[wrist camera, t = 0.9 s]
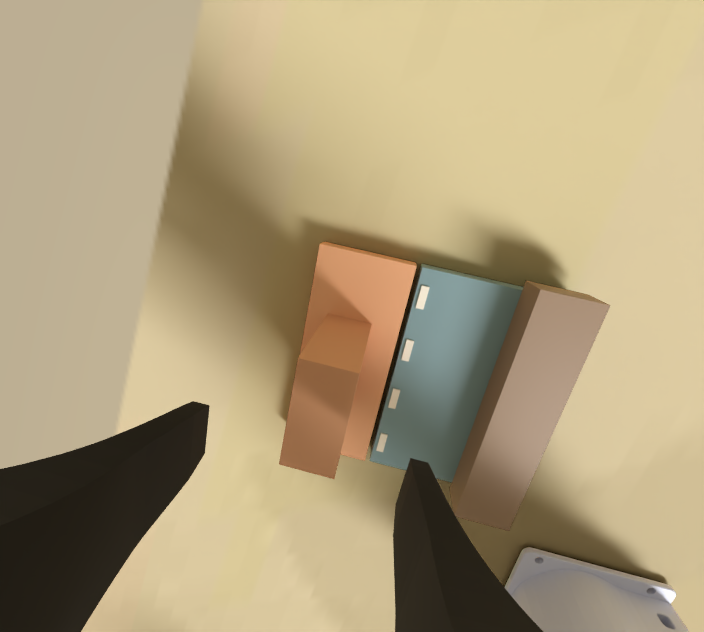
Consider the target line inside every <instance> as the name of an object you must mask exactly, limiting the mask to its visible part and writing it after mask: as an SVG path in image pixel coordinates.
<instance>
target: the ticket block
mask: <svg viewBox="0 0 704 632" xmlns="http://www.w3.org/2000/svg"><path fill="white" fill-rule="evenodd" d="M609 308H610V305H608V304H606V303H604V302H602V301H600V300H598V299H596V298H594V297H592V296H590V295H587V294H583V293H579V292H574V291H570V290H566V289H561V288H557V287H552V286H548V285H544V284H539V283H535V282H531V281H526V282H525V285H524V287H521V286H517V285H513V284H508V283H504V282H500V281H495V280H491V279H487V278H482V277H478V276H473V275H469V274H465V273H460V272H456V271H452V270H447V269H443V268H439V267H434V266H430V265H426V264H421V267H420V270H419V274H418V278H417V281H416V285H415V289H414V292H413V296H412V300H411V303H410V307H409V311H408V315H407V318H406V322H405V326H404V329H403V333H402V337H401V340H400V344H399V348H398V351H397V355H396V359H395V363H394V366H393V370H392V374H391V377H390V381H389V385H388V388H387V392H386V396H385V400H384V403H383V407H382V411H381V414H380V418H379V422H378V425H377V429H376V433H375V436H374V440H373V444H372V448H371V455H370V461H372V462H376V463H379V464H383V465H387V466H391V467H394V468H398V469H402V470H407V467H408V464H409V461H410V458H413V459H416V460H420V461H424V462H428V463H429V465H430V467H431V469H432V471H433V473H434V475H435V477H436V479H440V480H444V481H448V482H451V483H452V484H451V486H450V489H449V490H450V496H451V501H452V507H453V513H454V514H455V516H456V517H459V518H462V519H466V520H470V521H474V522H477V523H481V524H485V525H488V526H492V527H496V528H500V529H503V530H507V531H509V529H510V527H511V525H512V523H513V520H514V518H515V516H516V514H517V512H518V509H519V507H520V505H521V503H522V501H523V498H524V496H525V494H526V492H527V489H528V487H529V485H530V483H531V481H532V478H533V476H534V474H535V472H536V469H537V467H538V465H539V463H540V461H541V458H542V456H543V454H544V452H545V449H546V447H547V445H548V443H549V441H550V438H551V436H552V434H553V432H554V430H555V427H556V425H557V423H558V421H559V418H560V416H561V414H562V412H563V410H564V407H565V405H566V403H567V401H568V398H569V396H570V394H571V392H572V390H573V387H574V385H575V383H576V381H577V379H578V376H579V374H580V372H581V370H582V367H583V365H584V363H585V361H586V359H587V356H588V354H589V352H590V350H591V347H592V345H593V343H594V341H595V339H596V336H597V334H598V332H599V330H600V327H601V325H602V323H603V321H604V319H605V316H606V314H607V312H608V310H609Z"/></svg>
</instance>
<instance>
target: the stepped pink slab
mask: <svg viewBox="0 0 704 632" xmlns="http://www.w3.org/2000/svg"><path fill="white" fill-rule="evenodd" d="M416 267H417V265H416V262H411V261H407V260H403V259H398V258H394V257H390V256H385V255H381V254H377V253H372V252H368V251H364V250H359V249H355V248H350V247H346V246H342V245H337V244H333V243H329V242H322V243H320V245H319V251H318V256H317V262H316V267H315V273H314V278H313V284H312V289H311V295H310V301H309V306H308V312H307V317H306V323H305V328H304V334H303V340H302V345H301V351H300V356H299V357H298V361H297V366H296V372H295V378H294V383H293V389H292V394H291V400H290V406H289V411H288V417H287V422H286V428H285V434H284V439H283V445H282V450H281V456H280V462H279V464H280V465H284V466H287V467H291V468H295V469H299V470H302V471H306V472H310V473H314V474H317V475H321V476H325V477H328V478H332V479H334V478H335V474H336V470H337V466H338V462H339V458H340V454H341V455H345V456H349V457H352V458H356V459H360V460H364V461H365V458H366V454H367V450H368V447H369V443H370V439H371V435H372V432H373V428H374V424H375V420H376V417H377V413H378V409H379V405H380V402H381V398H382V394H383V391H384V387H385V383H386V379H387V376H388V372H389V368H390V364H391V361H392V357H393V353H394V349H395V346H396V342H397V338H398V334H399V331H400V327H401V323H402V319H403V316H404V312H405V308H406V305H407V301H408V297H409V293H410V290H411V286H412V282H413V278H414V275H415V271H416Z"/></svg>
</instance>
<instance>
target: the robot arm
mask: <svg viewBox="0 0 704 632" xmlns="http://www.w3.org/2000/svg"><path fill="white" fill-rule="evenodd" d="M208 415H209V405H205V404H202V403H198V402H194V401H193V402H190V403H188V404H185V405H183V406H181V407H179V408H177V409H174V410H172V411H170V412H168V413H166V414H164V415H161V416H159V417H157V418H155V419H153V420H150V421H148V422H146V423H144V424H142V425H139V426H137V427H135V428H132V429H130V430H127V431H125V432H122V433H120V434H117V435H115V436H113V437H110V438H108V439H105V440H103V441H100V442H97V443H94V444H91V445H88V446H85V447H83V448H79V449H76V450H73V451H70V452H67V453H63V454H60V455H56V456H52V457H49V458H45V459H41V460H37V461H34V462H30V463H26V464H22V465H17V466H13V467H8V468H4V469H0V632H81V631H82V629H83V627H84V626H85V624H86V622H87V621H88V619H89V617H90V616H91V614H92V613H93V611H94V609H95V608H96V606H97V605H98V603H99V602H100V600H101V598H102V597H103V595H104V594H105V592H106V591H107V589H108V587H109V586H110V584H111V583H112V581H113V580H114V578H115V577H116V575H117V574H118V572H119V571H120V569H121V568H122V566H123V565H124V563H125V562H126V560H127V559H128V557H129V556H130V554H131V553H132V551H133V550H134V548H135V547H136V546H137V544H138V543H139V542H140V540H141V539H142V537H143V536H144V535H145V534H146V532H147V531H148V530H149V529H150V527H151V526H152V525H153V524H154V522H155V521H156V520H157V519H158V517H159V516H160V515H161V514H162V512H163V511H164V510H165V509H166V507H167V506H168V505H169V504H170V502H171V501H172V500H173V499H174V497H175V496H176V495H177V494H178V492H179V491H180V490H181V489H182V487H183V486H184V485H185V483H186V482H187V481H188V480H189V478H190V476H191V475H192V473H193V472H194V470H195V469H196V467H197V465H198V464H199V462H200V460H201V459H202V457H203V455H204V453H205V445H206V435H207V425H208ZM393 543H394V576H395V607H396V619H395V632H689V630H688V629H687V627H686V626H685V625H684V623H683V622H682V620H681V619H680V617H679V616H678V614H677V613H676V611H675V610H674V608H673V607H672V605H671V603H672V601H673V600H674V598H675V596H676V592H675V591H674V589H673V588H672V587H671V586H670V585H668V584H664V583H661V582H657V581H653V580H649V579H646V578H642V577H638V576H635V575H631V574H627V573H624V572H620V571H616V570H613V569H609V568H605V567H601V566H598V565H594V564H590V563H587V562H583V561H579V560H576V559H572V558H568V557H565V556H561V555H557V554H554V553H550V552H546V551H542V550H539V549H535V548H531V547H527V548H524V549H523V550H522V551H521V553H520V555H519V558H518V560H517V562H516V564H515V566H514V568H513V570H512V572H511V574H510V576H509V579H508V581H507V583H506V585H505V587H504V586H503V585H502V584H501V583H500V582H499V580H498V579H497V578H496V576H495V575H494V574H493V573H492V571H491V570H490V569H489V567H488V566H487V564H486V563H485V562H484V560H483V559H482V557H481V556H480V555H479V553H478V552H477V550H476V549H475V548H474V546H473V544H472V543H471V541H470V540H469V538H468V537H467V535H466V533H465V532H464V530H463V528H462V527H461V525H460V523H459V522H458V520H457V518H456V516H455V514H454V513H453V511H452V509H451V507H450V505H449V503H448V502H447V500H446V498H445V496H444V494H443V492H442V490H441V488H440V486H439V484H438V482H437V480H436V477H435V475H434V473H433V471H432V469H431V467H430V465H429V463H428V462H424V461H420V460H416V459H413V458H410V461H409V464H408V467H407V470H406V473H405V477H404V480H403V483H402V486H401V489H400V493H399V496H398V499H397V502H396V508H395V519H394V533H393ZM537 557H539V558H537Z"/></svg>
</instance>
